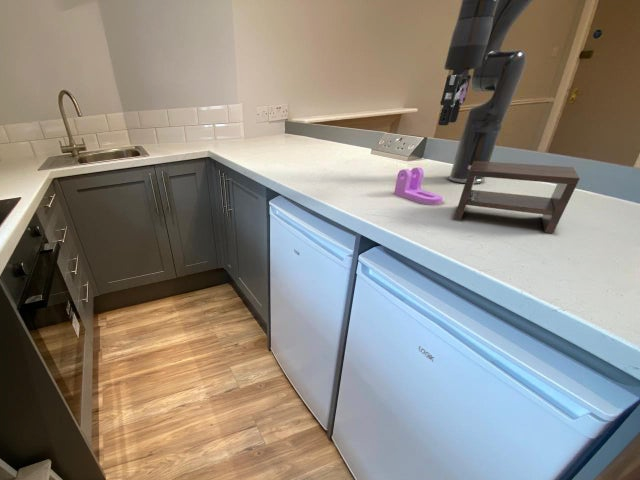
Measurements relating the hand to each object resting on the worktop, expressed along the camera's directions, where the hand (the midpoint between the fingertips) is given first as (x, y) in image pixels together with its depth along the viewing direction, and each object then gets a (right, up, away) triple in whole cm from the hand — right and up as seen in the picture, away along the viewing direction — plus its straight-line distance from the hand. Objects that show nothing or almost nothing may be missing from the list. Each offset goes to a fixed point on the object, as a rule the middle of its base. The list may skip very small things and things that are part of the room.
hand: (447, 123), depth 86 cm
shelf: (+7, -26, -9) cm, 29 cm away
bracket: (-4, -17, +7) cm, 19 cm away
